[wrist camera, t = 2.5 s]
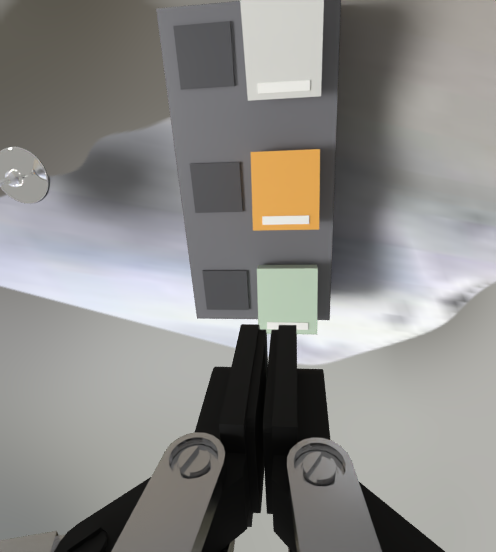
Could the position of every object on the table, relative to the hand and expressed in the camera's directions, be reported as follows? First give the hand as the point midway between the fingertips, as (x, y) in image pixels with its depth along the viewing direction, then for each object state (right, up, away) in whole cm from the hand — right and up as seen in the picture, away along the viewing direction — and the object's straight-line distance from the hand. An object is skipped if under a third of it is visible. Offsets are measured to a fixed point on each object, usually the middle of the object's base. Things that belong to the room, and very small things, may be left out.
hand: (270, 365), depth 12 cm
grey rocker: (+1, +15, +9) cm, 17 cm away
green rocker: (+2, +1, +15) cm, 15 cm away
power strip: (0, +13, +16) cm, 20 cm away
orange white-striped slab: (+2, +8, +12) cm, 14 cm away
